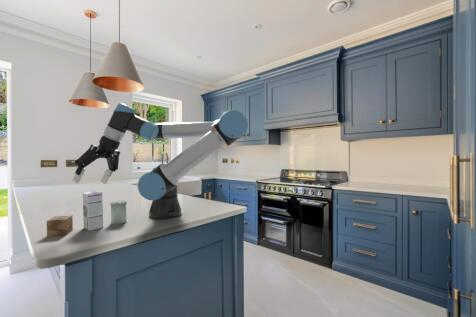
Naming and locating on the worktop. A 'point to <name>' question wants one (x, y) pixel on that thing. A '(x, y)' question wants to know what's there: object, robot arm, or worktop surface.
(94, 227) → the syrup box
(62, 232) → the cardboard box
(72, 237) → the worktop surface
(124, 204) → the sage jar
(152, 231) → the worktop surface
